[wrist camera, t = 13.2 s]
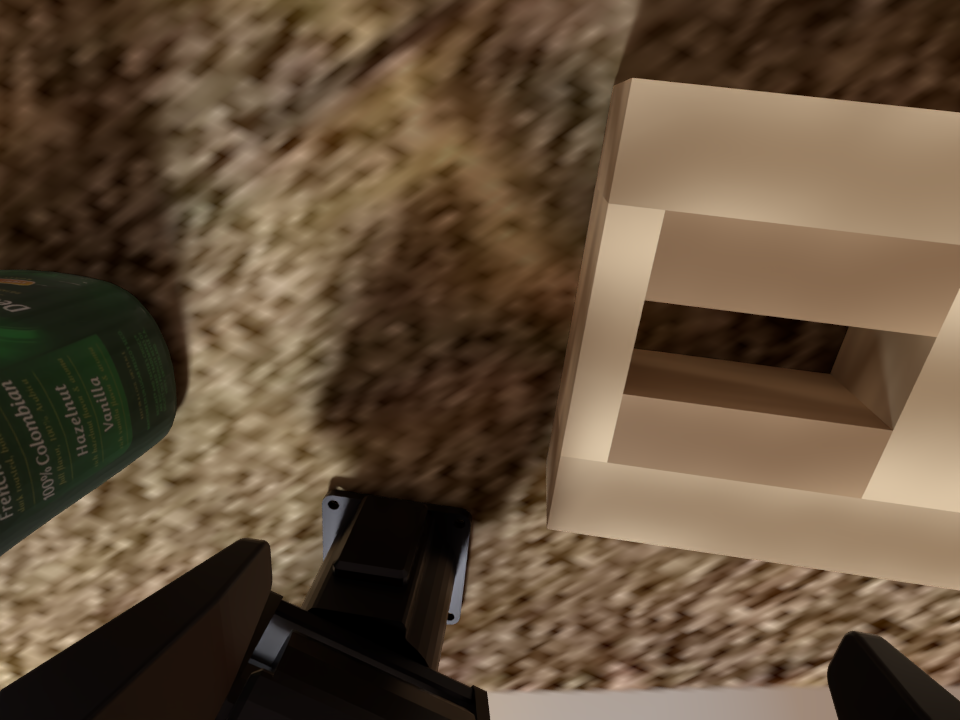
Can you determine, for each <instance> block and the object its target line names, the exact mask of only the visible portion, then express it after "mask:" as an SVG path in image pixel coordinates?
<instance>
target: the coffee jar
mask: <svg viewBox="0 0 960 720" xmlns="http://www.w3.org/2000/svg"><path fill="white" fill-rule="evenodd" d="M176 402H177V399H176V384H175V377H174V369H173V365H172V361H171V358H170V353H169V350H168V347H167V344H166V342H165V340H164V338H163V336H162V334H161V332H160V329H159V327H158V325H157V323H156V322H155V320H154V319H153V317H152V316H151V314H150V313H149V312H148V311H147V310H146V308H145V307H144V306H143V305H142V304H141V303H140V302H139V301H138V300H137V298H136V297H134V296H133V295H132V294H130V293H129V292H128V291H126V290H124V289H122V288H120V287H118V286H117V285H114V284H112V283H109V282H106V281H102V280H98V279H93V278H89V277H84V276H78V275H73V274H65V273H58V272H49V271H36V270H0V556H1V555H3V554H4V553H5V552H7V551H8V550H9V549H11V548H12V547H13V546H15V545H16V544H17V543H19V542H20V541H22V540H23V539H24V538H26V537H27V536H28V535H30V534H31V533H33V532H34V531H35V530H37V529H38V528H39V527H41V526H42V525H44V524H45V523H46V522H48V521H49V520H51V519H52V518H53V517H55V516H56V515H58V514H59V513H61V512H62V511H64V510H65V509H66V508H68V507H69V506H71V505H72V504H74V503H75V502H77V501H78V500H79V499H81V498H82V497H84V496H85V495H87V494H88V493H90V492H91V491H93V490H94V489H96V488H97V487H99V486H100V485H101V484H103V483H104V482H106V481H107V480H108V479H110V478H111V477H113V476H114V475H115V474H117V473H118V472H120V471H121V470H122V469H124V468H125V467H127V466H128V465H129V464H131V463H132V462H133V461H135V460H136V459H137V458H139V457H140V456H141V455H143V454H144V453H145V452H147V451H148V450H149V449H150V448H152V447H153V446H154V445H156V444H157V443H158V442H159V441H161V440H162V439H163V438H164V437H165V436H166V435H167V434H168V432H169V430H170V428H171V427H172V424H173V421H174V418H175V415H176Z"/></svg>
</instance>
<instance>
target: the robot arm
mask: <svg viewBox="0 0 960 720" xmlns="http://www.w3.org/2000/svg"><path fill="white" fill-rule="evenodd" d="M332 500H334V501H337V502H338V503H339V504H335V503H333V502H332ZM322 518H323V563H322V565H321V567H320V569H319V572H318V574H317V576H316V578H315V580H314V582H313V584H312V586H311V588H310V590H309V592H308V594H307V596H306V598H305V600H304V602H303V604H302V606H301V608H300V607H298V606H296V605H293V604H291V603H289V602H287V601H285V600H283V599H282V598H283V596H281V595H279V594H277V593H275V592H273V591H271V586H272V567H271V552H270V545H269V543H268V542H267V541H265V540H258V539H252V538H242V539H239V540H238V541H236V542H234V543H233V544H231V545H230V546H228V547H226V548H225V549H223V550H222V551H220V552H219V553H217V554H215V555H214V556H212V557H211V558H209V559H207V560H206V561H204V562H203V563H201V564H200V565H198V566H196V567H195V568H193V569H192V570H190V571H189V572H187V573H185V574H184V575H182V576H181V577H179V578H177V579H176V580H174V581H173V582H171V583H170V584H168V585H166V586H165V587H163V588H162V589H160V590H158V591H157V592H155V593H154V594H152V595H151V596H149V597H147V598H146V599H144V600H143V601H141V602H139V603H138V604H136V605H135V606H133V607H132V608H130V609H128V610H127V611H125V612H124V613H122V614H120V615H119V616H117V617H116V618H114V619H113V620H111V621H109V622H108V623H106V624H105V625H103V626H101V627H100V628H98V629H97V630H95V631H94V632H92V633H90V634H89V635H87V636H86V637H84V638H83V639H81V640H79V641H78V642H76V643H75V644H73V645H71V646H70V647H68V648H67V649H65V650H64V651H62V652H60V653H59V654H57V655H56V656H54V657H52V658H51V659H49V660H48V661H46V662H45V663H43V664H41V665H40V666H38V667H37V668H35V669H33V670H32V671H30V672H29V673H27V674H26V675H24V676H22V677H21V678H19V679H18V680H16V681H14V682H13V683H11V684H10V685H8V686H7V687H5V688H3V689H2V690H1V691H0V720H490V714H489V705H488V697H487V691H485V690H482V689H480V688H478V687H476V686H474V685H473V686H472V687H469V686H467V685H465V684H463V683H461V682H458V681H456V680H454V679H452V678H450V677H448V676H446V675H443V674H441V673H439V672H438V666H439V661H440V656H441V650H442V645H443V640H444V634H445V629H446V624H455V623H457V622H458V621H459V619H460V613H461V606H462V597H463V589H464V581H465V572H466V564H467V555H468V547H469V539H470V530H471V522H472V517H471V514H470V513H469V512H468V511H467V510H465V509H462V508H455V507H448V506H441V505H435V504H428V503H421V502H414V501H408V500H401V499H394V498H388V497H381V496H374V495H367V494H361V493H354V492H347V491H340V490H331V491H329V492H328V493H327V494H326V496H325V497H324V499H323V502H322ZM456 519H461V520H463V521H464V522H457V521H456ZM449 613H452V614H449ZM827 679H828V685H829V689H830V692H831V696H832V699H833V703H834V706H835V710H836V713H837V717H838V720H960V701H959V700H958V699H956V698H955V697H954V696H953V695H951V694H950V693H949V692H948V691H947V690H946V689H944V688H943V687H942V686H941V685H939V684H938V683H937V682H936V681H935V680H933V679H932V678H931V677H930V676H928V675H927V674H926V673H925V672H924V671H922V670H921V669H920V668H919V667H918V666H916V665H915V664H914V663H913V662H911V661H910V660H909V659H908V658H907V657H905V656H904V655H903V654H902V653H901V652H899V651H898V650H897V649H896V648H894V647H893V646H892V645H891V644H890V643H888V642H887V641H886V640H885V639H883V638H882V637H880V636H878V635H875V634H869V633H863V632H857V631H850V632H848V633H846V634H845V635H844V637H843V639H842V641H841V643H840V644H839V646H838V648H837V650H836V652H835V654H834V656H833V658H832V660H831V662H830V664H829V666H828V671H827Z"/></svg>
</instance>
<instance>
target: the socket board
mask: <svg viewBox="0 0 960 720" xmlns="http://www.w3.org/2000/svg"><path fill="white" fill-rule="evenodd" d="M644 300H647V301H655V302H663V303H671V304H679V305H686V306H694V307H702V308H710V309H718V310H726V311H734V312H742V313H750V314H758V315H765V316H773V317H781V318H789V319H797V320H805V321H813V322H821V323H829V324H837V325H845V326H849V327H848V330H847V332H846V335H845V338H844V340H843V343H842V345H841V348H840V350H839V353H838V355H837V358H836V360H835V363H834V365H833V368H832V370H831V373H830V374H826V373H818V372H811V371H803V370H796V369H788V368H780V367H773V366H765V365H757V364H750V363H742V362H734V361H727V360H719V359H712V358H704V357H696V356H689V355H681V354H673V353H666V352H658V351H651V350H643V349H635V348H634V344H635V339H636V335H637V331H638V326H639V322H640V318H641V313H642V309H643V305H644ZM546 500H547V529H552V530H558V531H565V532H572V533H578V534H585V535H592V536H599V537H605V538H612V539H619V540H626V541H632V542H639V543H646V544H652V545H659V546H666V547H673V548H679V549H686V550H693V551H699V552H706V553H713V554H720V555H726V556H733V557H740V558H746V559H753V560H760V561H767V562H773V563H780V564H787V565H793V566H800V567H807V568H814V569H820V570H827V571H834V572H840V573H847V574H854V575H861V576H867V577H874V578H881V579H887V580H894V581H901V582H908V583H914V584H921V585H928V586H934V587H941V588H948V589H955V590H960V113H959V112H950V111H940V110H931V109H921V108H912V107H903V106H893V105H884V104H874V103H865V102H855V101H846V100H837V99H827V98H818V97H808V96H799V95H789V94H780V93H771V92H761V91H752V90H742V89H733V88H724V87H714V86H705V85H695V84H686V83H676V82H667V81H658V80H648V79H639V78H631V79H628V80H626V81H624V82H621V83H619V84H616V85H614V86H613V90H612V96H611V102H610V107H609V113H608V118H607V124H606V130H605V135H604V141H603V146H602V152H601V158H600V163H599V169H598V175H597V180H596V186H595V191H594V197H593V203H592V208H591V214H590V219H589V225H588V231H587V236H586V242H585V248H584V253H583V259H582V264H581V270H580V276H579V281H578V287H577V292H576V298H575V304H574V309H573V315H572V321H571V326H570V332H569V337H568V343H567V349H566V354H565V360H564V366H563V371H562V377H561V382H560V388H559V394H558V399H557V405H556V410H555V416H554V422H553V427H552V433H551V439H550V444H549V450H548V455H547V461H546Z"/></svg>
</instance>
